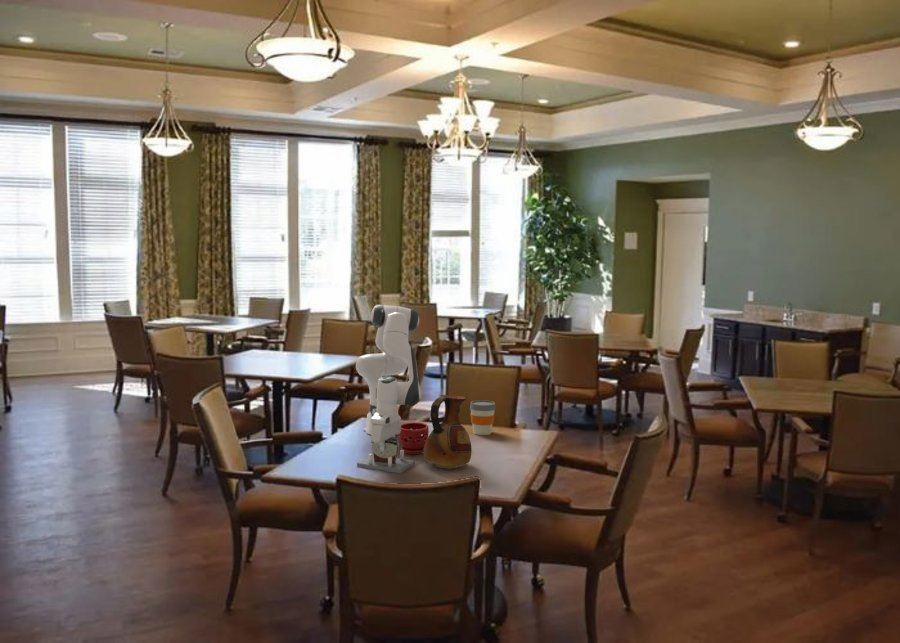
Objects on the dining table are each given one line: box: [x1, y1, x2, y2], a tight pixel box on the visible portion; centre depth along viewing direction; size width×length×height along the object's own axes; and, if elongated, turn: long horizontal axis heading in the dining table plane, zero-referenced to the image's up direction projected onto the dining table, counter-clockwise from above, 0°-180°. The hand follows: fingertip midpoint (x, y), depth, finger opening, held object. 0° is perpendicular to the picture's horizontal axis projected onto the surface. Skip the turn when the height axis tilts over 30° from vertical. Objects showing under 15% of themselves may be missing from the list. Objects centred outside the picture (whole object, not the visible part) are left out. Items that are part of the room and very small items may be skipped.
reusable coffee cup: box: [469, 399, 496, 436], centre depth 382 cm, size 13×13×15 cm
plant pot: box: [398, 422, 430, 455], centre depth 345 cm, size 13×13×12 cm
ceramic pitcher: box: [423, 394, 473, 470], centre depth 323 cm, size 20×20×30 cm
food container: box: [370, 437, 400, 465], centre depth 323 cm, size 12×6×10 cm, turn 73°
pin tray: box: [356, 449, 416, 474], centre depth 323 cm, size 14×20×6 cm
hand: (386, 448), depth 323 cm, fingers open, 5 cm apart
